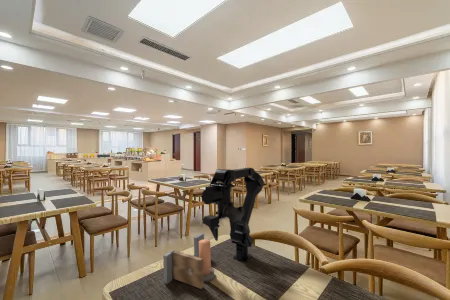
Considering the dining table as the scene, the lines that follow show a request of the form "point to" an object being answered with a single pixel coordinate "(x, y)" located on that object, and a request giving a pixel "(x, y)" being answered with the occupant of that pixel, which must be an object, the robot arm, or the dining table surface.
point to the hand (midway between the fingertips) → (225, 237)
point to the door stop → (206, 259)
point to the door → (187, 269)
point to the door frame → (168, 259)
